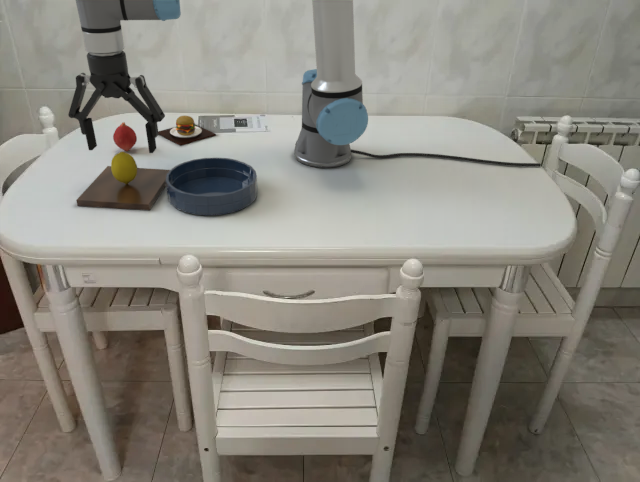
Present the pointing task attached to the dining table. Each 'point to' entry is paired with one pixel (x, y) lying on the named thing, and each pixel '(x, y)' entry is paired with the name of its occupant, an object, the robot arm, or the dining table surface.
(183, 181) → the bowl
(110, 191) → the board
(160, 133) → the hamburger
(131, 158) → the lemon
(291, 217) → the dining table surface
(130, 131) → the onion
